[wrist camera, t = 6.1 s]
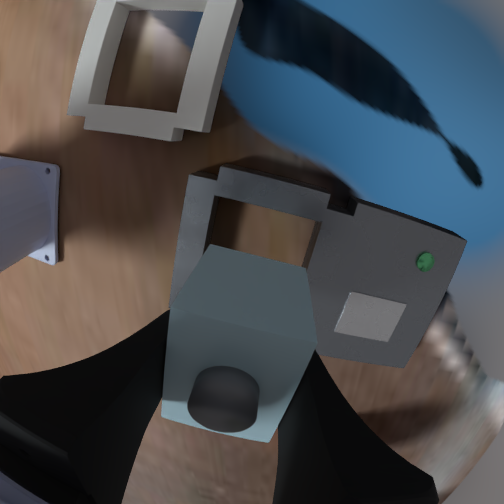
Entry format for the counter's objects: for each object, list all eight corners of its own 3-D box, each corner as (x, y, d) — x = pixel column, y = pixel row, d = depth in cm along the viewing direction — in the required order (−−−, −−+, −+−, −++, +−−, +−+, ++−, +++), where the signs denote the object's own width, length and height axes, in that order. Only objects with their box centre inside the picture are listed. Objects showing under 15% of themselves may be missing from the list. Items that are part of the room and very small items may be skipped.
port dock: (176, 302, 22) (166, 319, 20) (200, 157, 18) (190, 160, 16) (396, 351, 22) (404, 369, 20) (453, 231, 18) (468, 242, 16)
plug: (193, 339, 14) (153, 436, 9) (210, 244, 13) (157, 327, 7) (273, 359, 14) (266, 464, 9) (305, 268, 13) (320, 367, 7)
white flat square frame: (82, 126, 18) (64, 127, 16) (117, -7, 14) (103, -16, 12) (206, 145, 18) (198, 146, 16) (246, -5, 14) (242, -19, 12)
